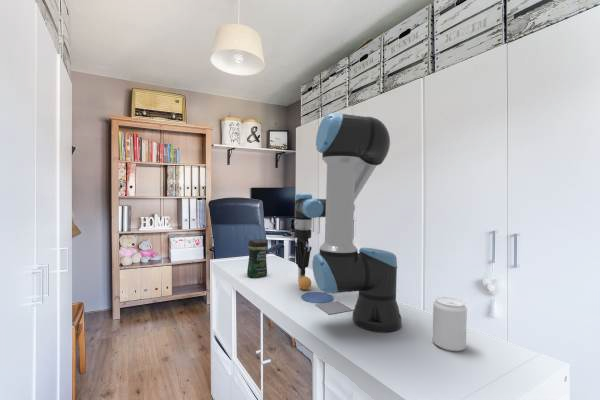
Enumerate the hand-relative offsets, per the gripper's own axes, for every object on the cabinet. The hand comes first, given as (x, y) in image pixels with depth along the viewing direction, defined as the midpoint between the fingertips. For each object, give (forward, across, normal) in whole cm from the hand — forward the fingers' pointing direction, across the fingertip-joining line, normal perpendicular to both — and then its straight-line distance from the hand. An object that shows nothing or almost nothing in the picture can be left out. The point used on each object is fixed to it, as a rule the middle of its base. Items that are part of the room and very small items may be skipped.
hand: (301, 282), depth 131 cm
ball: (0, +3, 0) cm, 3 cm away
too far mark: (+2, +27, 0) cm, 27 cm away
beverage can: (+2, +63, +14) cm, 64 cm away
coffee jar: (+3, -25, -12) cm, 28 cm away
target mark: (+2, +15, 0) cm, 15 cm away
